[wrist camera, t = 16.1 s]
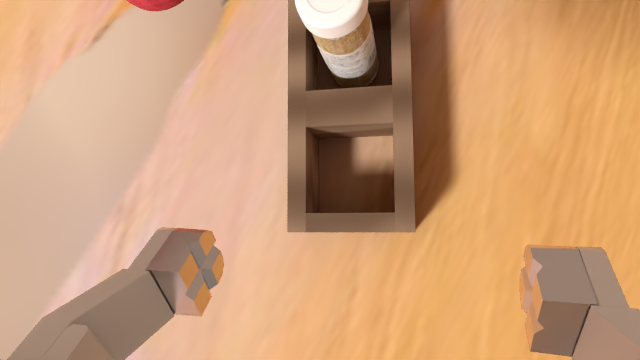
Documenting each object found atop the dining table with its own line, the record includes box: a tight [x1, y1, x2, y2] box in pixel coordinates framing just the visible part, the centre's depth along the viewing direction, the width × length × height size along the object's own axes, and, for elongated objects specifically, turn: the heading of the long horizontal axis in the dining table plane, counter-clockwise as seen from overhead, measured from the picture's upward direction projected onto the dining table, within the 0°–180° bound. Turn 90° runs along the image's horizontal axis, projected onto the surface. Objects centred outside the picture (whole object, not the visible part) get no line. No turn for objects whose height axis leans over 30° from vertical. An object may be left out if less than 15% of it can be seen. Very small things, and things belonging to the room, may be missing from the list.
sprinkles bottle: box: [295, 0, 379, 88], centre depth 33 cm, size 5×5×14 cm
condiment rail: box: [288, 0, 416, 232], centre depth 36 cm, size 20×10×5 cm, turn 1°
